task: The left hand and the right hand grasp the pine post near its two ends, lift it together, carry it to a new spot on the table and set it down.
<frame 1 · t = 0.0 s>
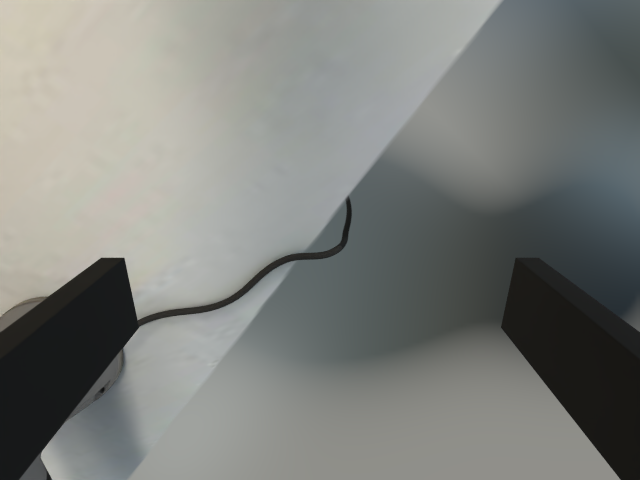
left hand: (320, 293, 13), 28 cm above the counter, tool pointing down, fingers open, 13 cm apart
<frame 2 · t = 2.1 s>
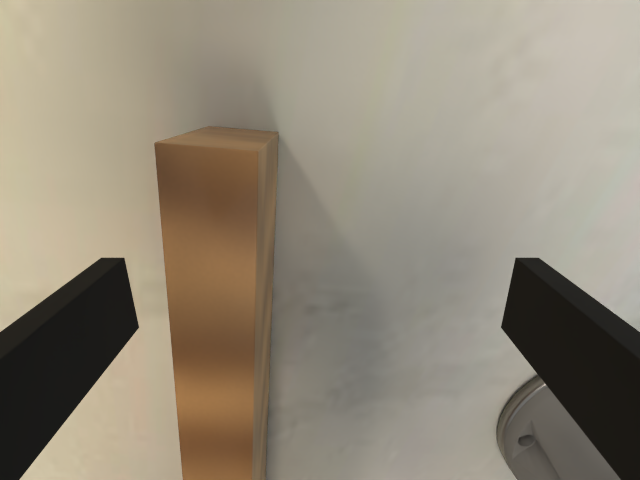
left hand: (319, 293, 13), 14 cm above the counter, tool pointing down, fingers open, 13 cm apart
post: (242, 441, 35), on the counter
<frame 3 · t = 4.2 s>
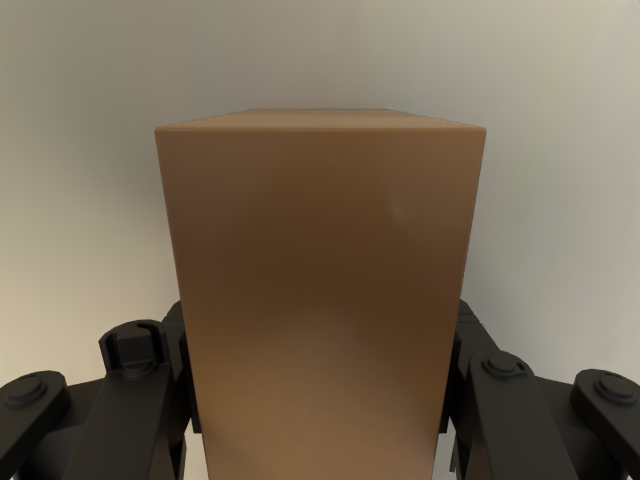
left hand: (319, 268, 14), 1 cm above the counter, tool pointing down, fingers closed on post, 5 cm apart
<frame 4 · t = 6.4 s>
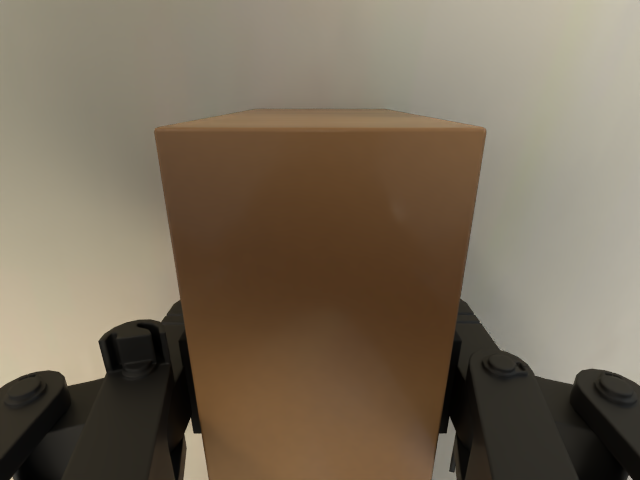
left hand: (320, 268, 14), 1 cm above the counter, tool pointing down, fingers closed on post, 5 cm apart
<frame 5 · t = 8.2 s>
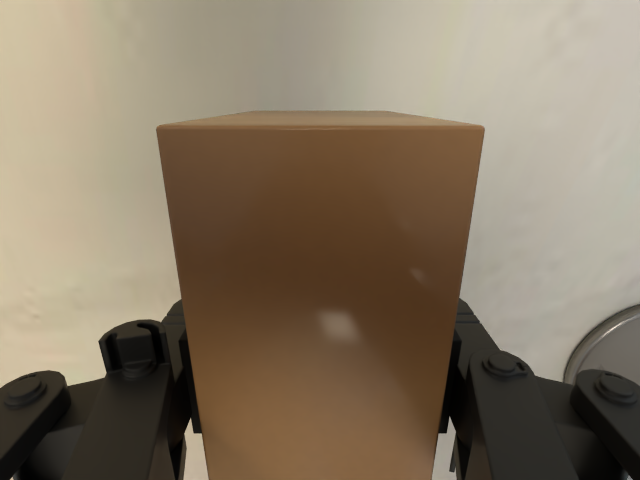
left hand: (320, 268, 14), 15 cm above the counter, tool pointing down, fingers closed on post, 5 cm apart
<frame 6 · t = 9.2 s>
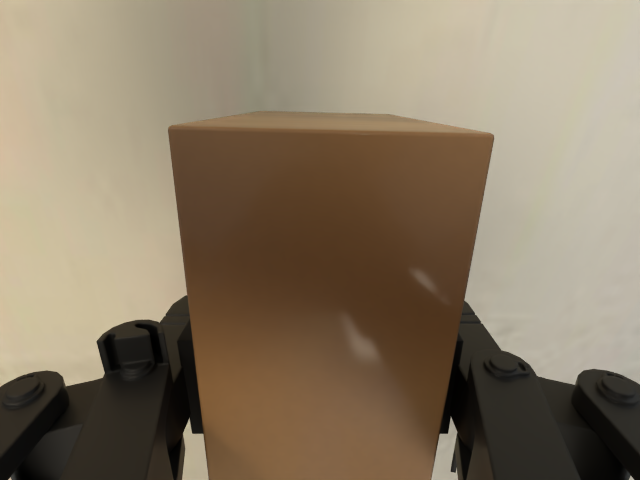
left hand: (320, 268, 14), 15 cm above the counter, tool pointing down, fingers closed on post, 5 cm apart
when the left hand's fingers open (2 cm above the counter, at t = 12.2 s): post drops 2 cm, on the counter.
when the right hand's fingers open (2 cm above the counter, at t = 12.2 s): post drops 2 cm, on the counter.
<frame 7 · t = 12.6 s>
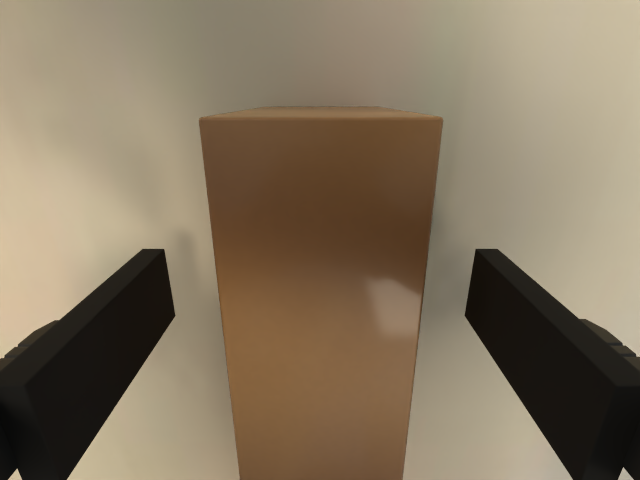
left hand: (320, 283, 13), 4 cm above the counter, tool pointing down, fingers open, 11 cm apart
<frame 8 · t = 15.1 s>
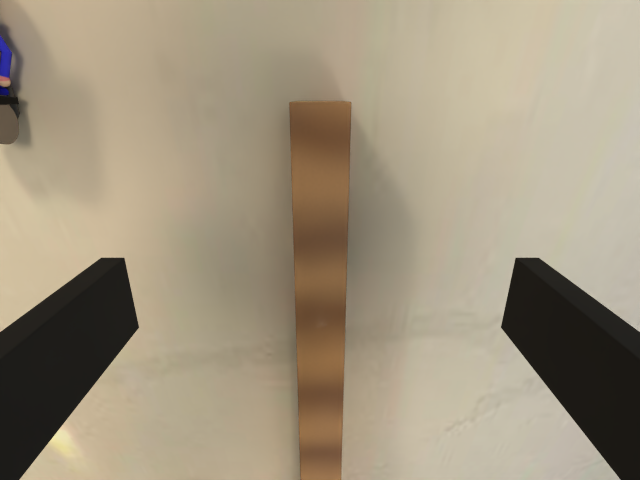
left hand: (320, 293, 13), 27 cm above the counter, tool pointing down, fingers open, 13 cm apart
post: (320, 346, 46), on the counter
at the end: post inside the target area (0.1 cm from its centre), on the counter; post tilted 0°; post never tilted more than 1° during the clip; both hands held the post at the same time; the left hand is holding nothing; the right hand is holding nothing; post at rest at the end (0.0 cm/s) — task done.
